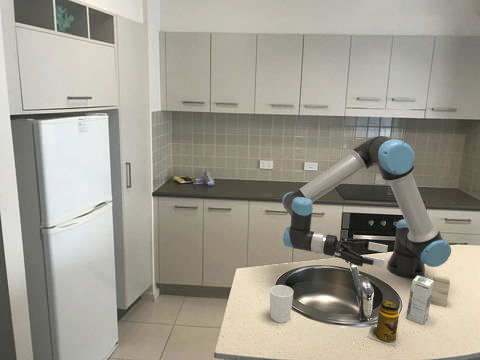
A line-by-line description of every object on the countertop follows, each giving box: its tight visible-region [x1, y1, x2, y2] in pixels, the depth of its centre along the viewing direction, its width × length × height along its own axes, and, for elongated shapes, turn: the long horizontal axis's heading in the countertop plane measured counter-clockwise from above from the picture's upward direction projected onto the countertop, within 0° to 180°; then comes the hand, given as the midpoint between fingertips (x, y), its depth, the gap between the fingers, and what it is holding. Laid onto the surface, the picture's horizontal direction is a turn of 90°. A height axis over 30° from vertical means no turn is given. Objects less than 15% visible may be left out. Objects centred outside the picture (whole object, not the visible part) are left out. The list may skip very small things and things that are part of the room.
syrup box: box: [405, 276, 434, 325], centre depth 134 cm, size 6×6×14 cm
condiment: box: [367, 299, 400, 347], centre depth 125 cm, size 7×8×12 cm
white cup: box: [269, 284, 294, 324], centre depth 133 cm, size 8×8×10 cm
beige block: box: [430, 273, 451, 308], centre depth 146 cm, size 5×5×10 cm
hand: (385, 256), depth 136 cm, fingers open, 13 cm apart
